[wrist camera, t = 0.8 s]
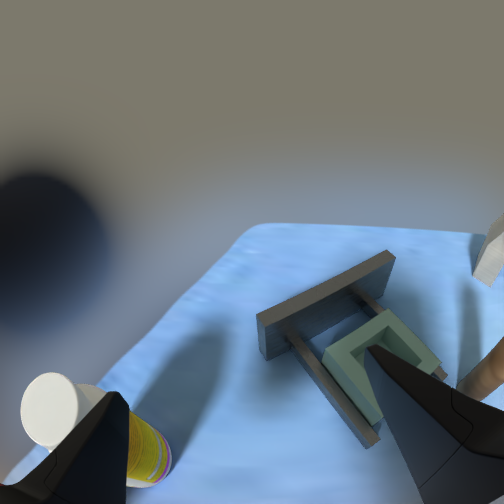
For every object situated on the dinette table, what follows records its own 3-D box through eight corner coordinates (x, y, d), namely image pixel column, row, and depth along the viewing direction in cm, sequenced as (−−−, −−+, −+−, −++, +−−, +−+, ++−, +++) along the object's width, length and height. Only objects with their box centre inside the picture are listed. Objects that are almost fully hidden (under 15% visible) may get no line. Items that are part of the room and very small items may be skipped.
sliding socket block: (426, 379, 21) (441, 362, 19) (368, 428, 19) (382, 417, 17) (378, 328, 27) (388, 307, 25) (320, 366, 25) (325, 348, 22)
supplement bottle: (161, 417, 21) (89, 345, 13) (184, 480, 17) (106, 457, 8) (101, 431, 19) (11, 367, 11) (118, 492, 15) (13, 463, 7)
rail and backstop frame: (454, 366, 22) (482, 335, 18) (340, 467, 17) (360, 458, 13) (374, 287, 32) (386, 249, 28) (259, 350, 27) (255, 314, 23)
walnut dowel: (484, 392, 18) (559, 315, 10) (468, 413, 17) (553, 340, 9) (466, 372, 21) (535, 289, 12) (450, 393, 20) (526, 311, 11)
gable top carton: (472, 276, 31) (498, 219, 25) (478, 254, 34) (499, 202, 28) (490, 287, 29) (519, 232, 22) (494, 264, 32) (517, 213, 26)
